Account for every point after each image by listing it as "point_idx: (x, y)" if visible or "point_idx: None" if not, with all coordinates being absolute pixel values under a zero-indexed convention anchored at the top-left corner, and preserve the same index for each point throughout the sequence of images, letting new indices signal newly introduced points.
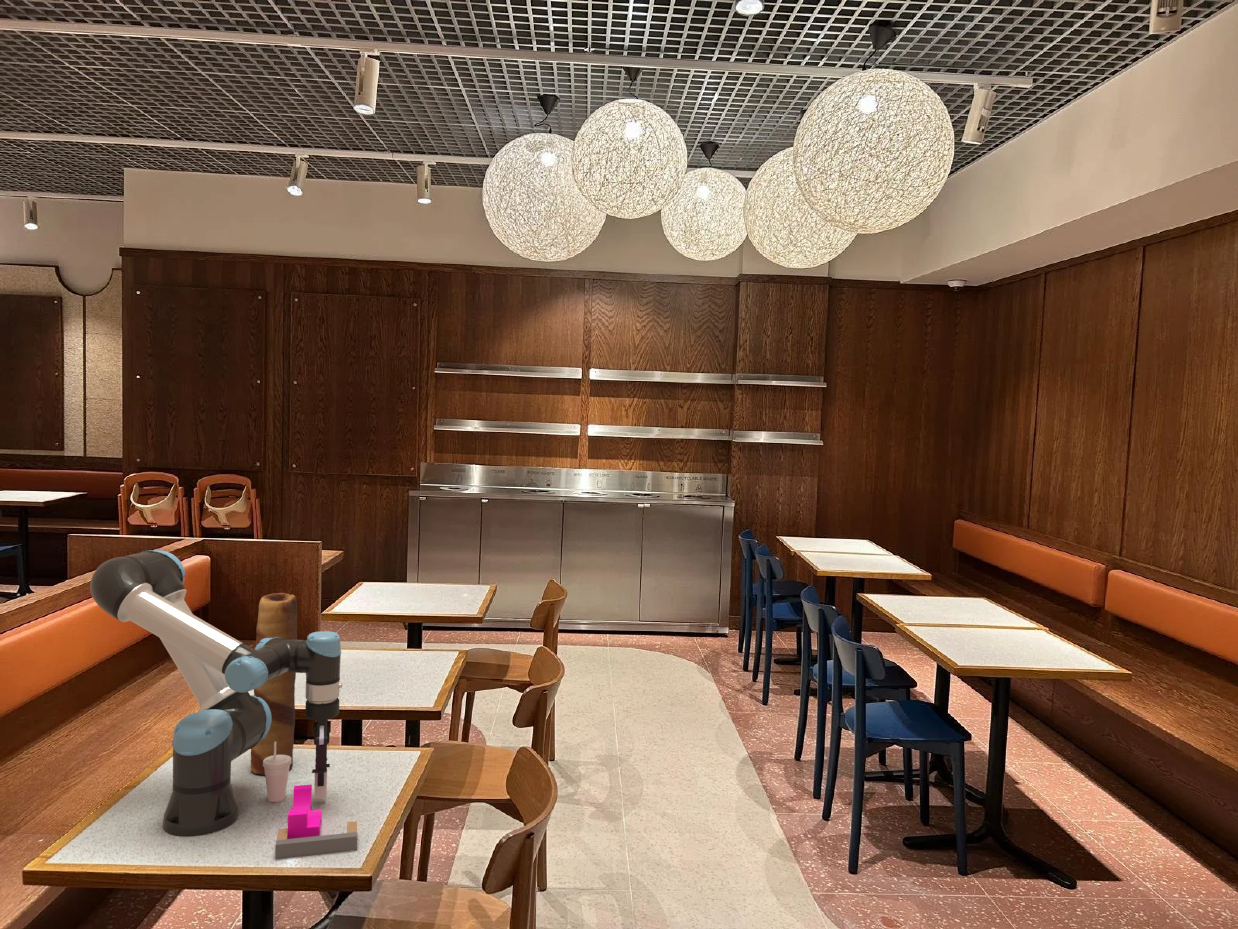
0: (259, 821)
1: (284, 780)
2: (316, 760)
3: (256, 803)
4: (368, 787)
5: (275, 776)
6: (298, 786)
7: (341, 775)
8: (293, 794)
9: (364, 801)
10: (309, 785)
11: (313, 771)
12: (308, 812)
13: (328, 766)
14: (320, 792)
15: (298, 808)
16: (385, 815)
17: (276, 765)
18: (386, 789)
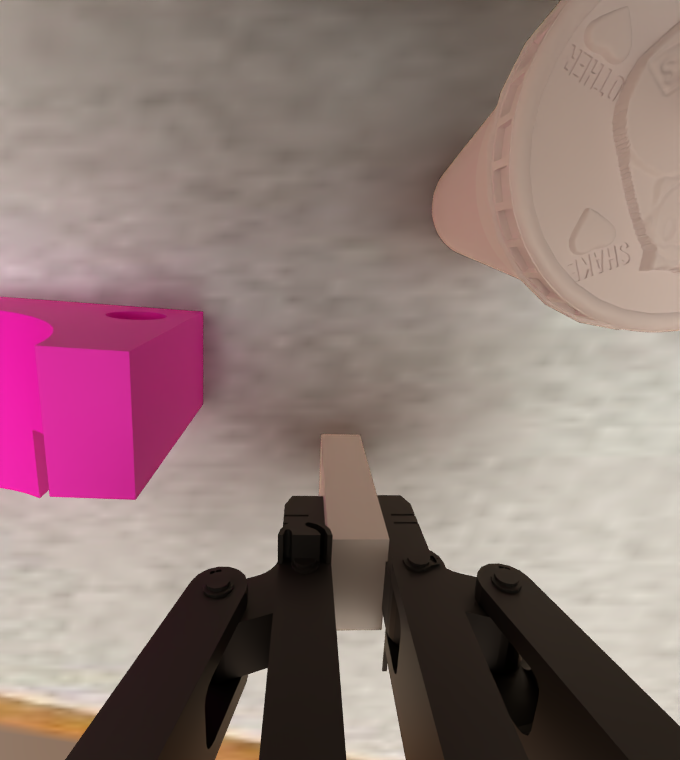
0: (186, 98)
1: (482, 253)
2: (86, 741)
3: (469, 72)
4: None
5: (478, 160)
6: (104, 390)
7: (660, 544)
8: (49, 338)
9: None
10: (111, 483)
11: (280, 546)
12: (18, 418)
13: (384, 655)
14: (320, 486)
15: (35, 359)
16: None
17: (511, 137)
18: None
